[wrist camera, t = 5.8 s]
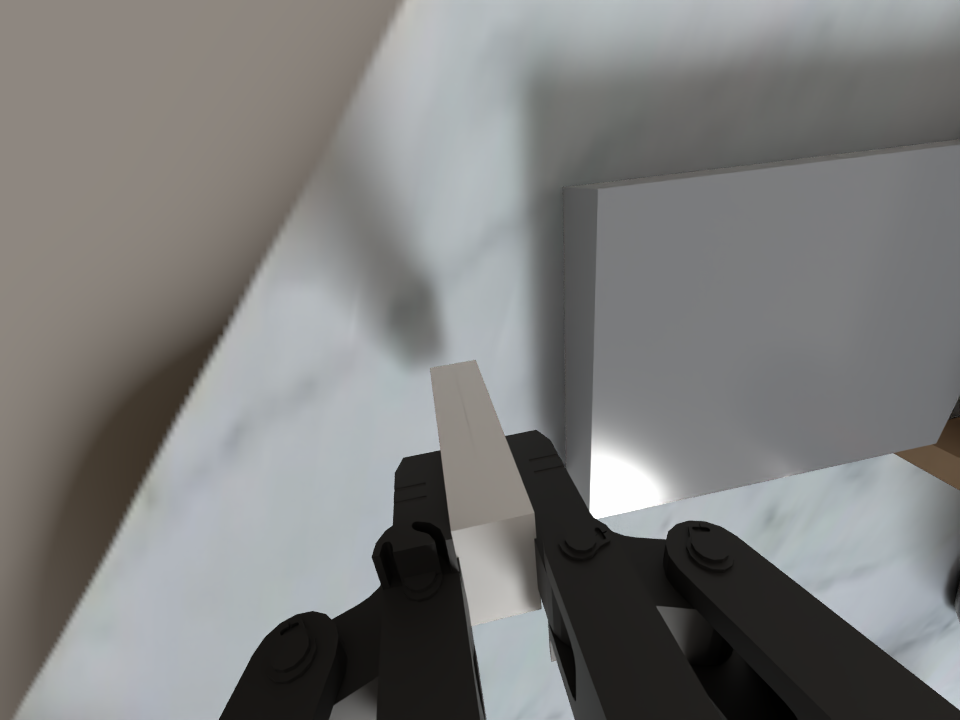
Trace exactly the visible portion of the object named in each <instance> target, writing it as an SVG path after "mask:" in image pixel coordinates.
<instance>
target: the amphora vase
mask: <svg viewBox="0 0 960 720" xmlns="http://www.w3.org/2000/svg"><path fill="white" fill-rule="evenodd" d="M954 606H955V610H956V613H957V616H958V619H959V622H960V582H959V586H958V590H957V595H956V599H955V604H954Z"/></svg>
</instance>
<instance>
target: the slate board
mask: <svg viewBox="0 0 960 720" xmlns="http://www.w3.org/2000/svg"><path fill="white" fill-rule="evenodd" d="M563 246H564V344H565V442H566V470H567V471H568V473H569V475H570V477H571V479H572V480H573V482H574V484H575V486H576V488H577V489H578V491H579V493H580V495H581V497H582V499H583V500H584V502H585V504H586V506H587V508H588V509H589V511H590V513H591V514H592V515H593V517H594V518H595V519H598V518H602V517H607V516H611V515H616V514H620V513H625V512H629V511H634V510H638V509H643V508H647V507H652V506H656V505H661V504H665V503H670V502H674V501H679V500H683V499H688V498H692V497H697V496H702V495H706V494H711V493H715V492H720V491H724V490H729V489H733V488H738V487H742V486H747V485H751V484H756V483H760V482H765V481H769V480H774V479H778V478H783V477H787V476H792V475H796V474H801V473H805V472H810V471H814V470H819V469H823V468H828V467H832V466H837V465H841V464H846V463H850V462H855V461H859V460H864V459H868V458H873V457H877V456H882V455H886V454H891V453H895V452H900V451H904V450H909V449H913V448H918V447H922V446H927V445H931V444H936V443H937V441H938V439H939V437H940V435H941V433H942V431H943V429H944V427H945V425H946V423H947V421H948V419H949V417H950V415H951V413H952V411H953V409H954V406H955V404H956V402H957V400H958V398H959V396H960V139H956V140H948V141H940V142H931V143H923V144H915V145H907V146H898V147H890V148H882V149H874V150H865V151H857V152H849V153H840V154H832V155H824V156H816V157H807V158H799V159H791V160H783V161H774V162H766V163H758V164H749V165H741V166H733V167H725V168H716V169H708V170H700V171H692V172H683V173H675V174H667V175H658V176H650V177H642V178H634V179H625V180H617V181H609V182H601V183H592V184H584V185H576V186H567V187H563Z"/></svg>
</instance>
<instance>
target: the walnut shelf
mask: <svg viewBox="0 0 960 720" xmlns="http://www.w3.org/2000/svg"><path fill="white" fill-rule="evenodd" d="M894 454H896V455H898V456H899V457H901V458H903V459H905V460H907V461H908V462H910V463H912V464H914V465H915V466H917V467H919V468H921V469H923V470H924V471H926V472H928V473H930V474H931V475H933V476H935V477H937V478H939V479H940V480H942V481H944V482H946V483H947V484H949V485H951V486H953V487H954V488H956V489H958V490H960V417H958V418H953V419H948V421H947V423H946V425H945V427H944V429H943V431H942V433H941V435H940V437H939V439H938V441H937V443H936V444H931V445H927V446H922V447H918V448H913V449H909V450H904V451H900V452H895V453H894Z"/></svg>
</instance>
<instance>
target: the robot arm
mask: <svg viewBox="0 0 960 720" xmlns="http://www.w3.org/2000/svg"><path fill="white" fill-rule="evenodd" d="M430 373H431V380H432V388H433V396H434V404H435V411H436V419H437V427H438V435H439V443H440V451H435V452H430V453H425V454H420V455H415V456H410V457H405V458H403V460H402V461H401V463H400V465H399V467H398V468H397V470H396V472H395V485H394V490H395V492H394V513H393V526H392V527H390V528H389V529H387V530H386V531H385V532H384V533H383V535H382V536H381V537H380V539H379V540H378V541H377V543H376V545H375V548H374V551H373V555H372V559H373V562H374V565H375V568H376V571H377V574H378V577H379V580H380V583H381V585H380V587H379V588H378V589H377V590H376V591H375V592H374V593H373V594H372V595H371V596H370V597H369V598H367V599H366V600H364V601H363V602H361V603H360V604H358V605H357V606H355V607H353V608H351V609H350V610H348V611H346V612H344V613H343V614H341V615H339V616H337V617H335V618H334V619H332V620H331V619H330V618H329V617H328V616H327V615H326V614H323V613H319V612H314V611H311V612H306V613H301V614H297V615H295V616H293V617H291V618H289V619H287V620H286V621H284V622H282V623H280V624H279V625H278V626H277V627H276V628H275V629H274V630H272V631H271V632H270V633H269V634H268V635H267V636H266V637H265V638H264V639H263V641H262V642H261V644H260V645H259V647H258V648H257V649H256V651H255V652H254V654H253V655H252V657H251V659H250V661H249V663H248V665H247V667H246V669H245V671H244V672H243V674H242V676H241V678H240V680H239V682H238V684H237V686H236V688H235V690H234V692H233V694H232V695H231V697H230V699H229V701H228V703H227V705H226V707H225V709H224V711H223V713H222V715H221V716H220V718H219V720H486V714H485V707H484V701H483V694H482V687H481V681H480V674H479V668H478V661H477V655H476V651H475V646H474V640H473V633H472V626H475V625H479V624H483V623H487V622H491V621H495V620H499V619H503V618H507V617H511V616H515V615H519V614H523V613H527V612H531V611H535V610H539V609H542V608H541V599H542V603H543V606H544V609H545V612H546V615H547V618H548V628H549V643H550V654H551V662H553V661H556V660H557V663H558V667H559V670H560V673H561V676H562V680H563V683H564V686H565V689H566V692H567V696H568V699H569V702H570V705H571V709H572V712H573V715H574V718H575V720H960V710H959V709H957V708H956V707H955V706H954V705H952V704H951V703H950V702H948V701H947V700H946V699H945V698H943V697H942V696H941V695H939V694H938V693H937V692H936V691H934V690H933V689H932V688H930V687H929V686H928V685H927V684H925V683H924V682H923V681H922V680H920V679H919V678H918V677H916V676H915V675H914V674H913V673H911V672H910V671H909V670H907V669H906V668H905V667H904V666H902V665H901V664H900V663H898V662H897V661H896V660H895V659H893V658H892V657H891V656H890V655H888V654H887V653H886V652H884V651H883V650H882V649H881V648H879V647H878V646H877V645H875V644H874V643H873V642H872V641H870V640H869V639H868V638H866V637H865V636H864V635H863V634H861V633H860V632H859V631H858V630H856V629H855V628H854V627H852V626H851V625H850V624H849V623H847V622H846V621H845V620H843V619H842V618H841V617H840V616H838V615H837V614H836V613H834V612H833V611H832V610H831V609H829V608H828V607H827V606H826V605H824V604H823V603H822V602H820V601H819V600H818V599H817V598H815V597H814V596H813V595H811V594H810V593H809V592H808V591H806V590H805V589H804V588H802V587H801V586H800V585H799V584H797V583H796V582H795V581H794V580H792V579H791V578H790V577H788V576H787V575H786V574H785V573H783V572H782V571H781V570H779V569H778V568H777V567H776V566H774V565H773V564H772V563H770V562H769V561H768V560H767V559H765V558H764V557H763V556H761V555H760V554H759V553H758V552H756V551H755V550H754V549H753V548H751V547H750V546H749V545H747V544H746V543H745V542H744V541H742V540H741V539H740V538H738V537H737V536H736V535H734V534H732V533H731V532H729V531H727V530H726V529H724V528H722V527H720V526H717V525H714V524H711V523H708V522H705V521H686V522H682V523H679V524H676V525H675V526H674V527H673V528H672V529H671V530H670V531H668V535H667V539H666V540H665V539H650V538H635V537H629V536H624V535H621V534H618V533H615V532H613V531H611V530H610V529H609V528H608V527H607V526H606V525H605V524H603V523H602V522H600V521H598V520H597V519H595V518H594V517H593V515H592V514H591V513H590V511H589V509H588V508H587V506H586V504H585V502H584V500H583V499H582V497H581V495H580V493H579V491H578V489H577V488H576V486H575V484H574V482H573V480H572V479H571V477H570V475H569V473H568V471H567V470H566V468H565V467H564V464H563V462H562V460H561V459H560V457H559V456H558V453H557V451H556V450H555V448H554V446H553V444H552V442H551V441H550V440H549V439H548V438H547V437H545V436H544V435H543V434H541V433H540V432H538V431H537V430H533V431H528V432H523V433H518V434H513V435H508V436H505V435H504V432H503V430H502V427H501V425H500V422H499V419H498V417H497V414H496V412H495V409H494V406H493V404H492V401H491V399H490V396H489V393H488V391H487V388H486V386H485V383H484V380H483V378H482V375H481V373H480V370H479V367H478V365H477V362H476V360H472V361H466V362H461V363H455V364H449V365H444V366H438V367H433V368H430Z"/></svg>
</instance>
